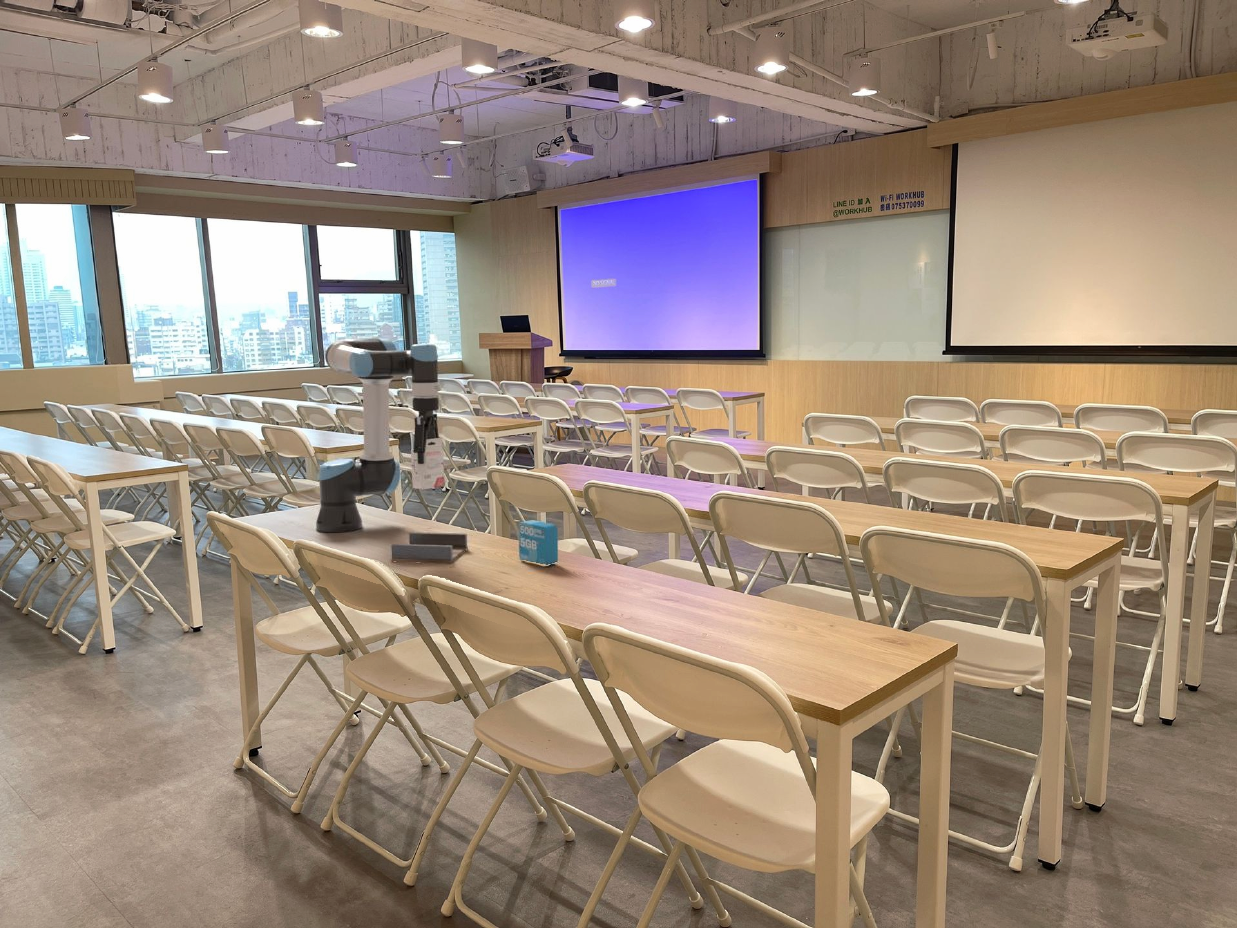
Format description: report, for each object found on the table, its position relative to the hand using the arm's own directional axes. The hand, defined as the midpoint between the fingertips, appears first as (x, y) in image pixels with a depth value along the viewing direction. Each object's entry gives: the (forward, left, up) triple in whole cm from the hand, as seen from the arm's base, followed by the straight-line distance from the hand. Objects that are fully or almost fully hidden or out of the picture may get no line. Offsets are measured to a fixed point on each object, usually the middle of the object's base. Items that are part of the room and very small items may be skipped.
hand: (427, 471), depth 266 cm
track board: (0, 0, -26) cm, 26 cm away
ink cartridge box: (0, 0, -5) cm, 5 cm away
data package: (+5, +34, -26) cm, 43 cm away
